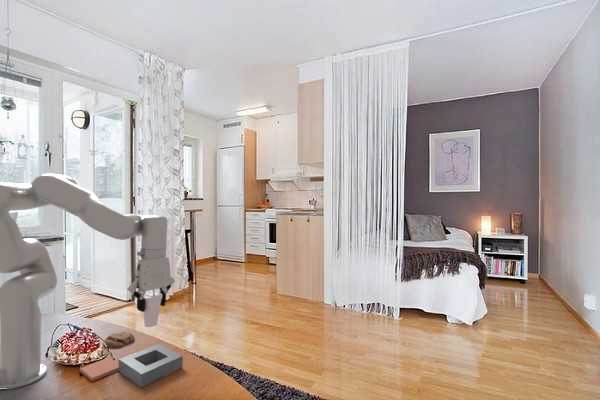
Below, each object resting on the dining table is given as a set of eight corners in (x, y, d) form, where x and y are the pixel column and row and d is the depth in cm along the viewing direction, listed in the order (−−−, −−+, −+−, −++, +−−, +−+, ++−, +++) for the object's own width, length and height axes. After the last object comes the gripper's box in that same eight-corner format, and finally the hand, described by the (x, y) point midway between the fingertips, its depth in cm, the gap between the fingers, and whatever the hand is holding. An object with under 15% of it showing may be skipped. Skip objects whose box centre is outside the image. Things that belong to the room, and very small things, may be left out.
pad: (91, 381, 98) (92, 378, 98) (79, 371, 103) (79, 368, 103) (122, 368, 105) (122, 365, 105) (109, 360, 110) (109, 357, 110)
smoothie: (155, 329, 102) (157, 285, 102) (135, 328, 102) (137, 284, 102) (164, 321, 108) (166, 280, 108) (146, 320, 108) (147, 279, 108)
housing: (141, 387, 96) (141, 374, 95) (118, 371, 104) (118, 359, 104) (182, 367, 107) (182, 355, 107) (158, 354, 115) (159, 343, 115)
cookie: (139, 341, 126) (139, 333, 126) (110, 351, 117) (111, 343, 117) (126, 334, 131) (126, 327, 131) (98, 344, 122) (98, 336, 122)
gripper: (133, 258, 96) (130, 318, 96) (183, 251, 110) (181, 304, 110) (120, 254, 100) (118, 312, 100) (171, 249, 114) (169, 299, 114)
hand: (151, 307), depth 105 cm, fingers closed on smoothie, 6 cm apart
